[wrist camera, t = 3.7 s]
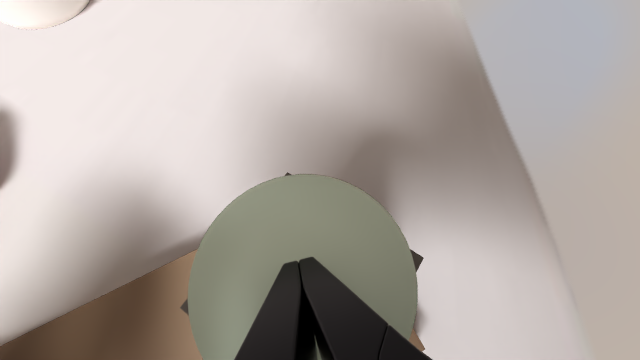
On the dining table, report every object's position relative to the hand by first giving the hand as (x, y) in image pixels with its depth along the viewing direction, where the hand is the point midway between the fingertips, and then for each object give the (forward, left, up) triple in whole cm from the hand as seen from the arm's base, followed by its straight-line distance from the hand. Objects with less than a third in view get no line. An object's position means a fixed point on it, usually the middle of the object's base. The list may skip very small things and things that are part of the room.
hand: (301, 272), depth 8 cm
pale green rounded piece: (0, 0, -8) cm, 8 cm away
